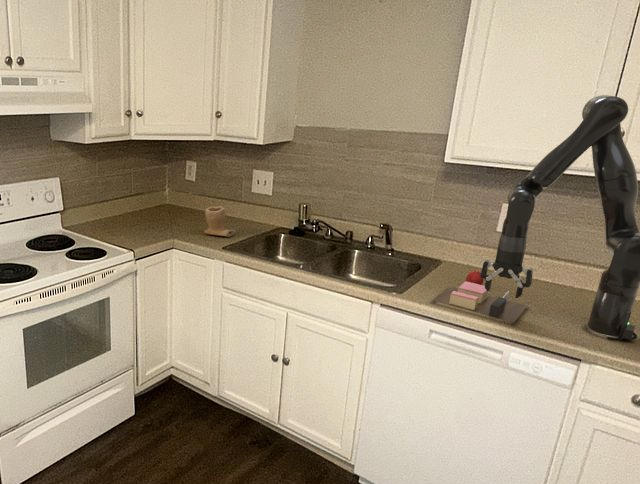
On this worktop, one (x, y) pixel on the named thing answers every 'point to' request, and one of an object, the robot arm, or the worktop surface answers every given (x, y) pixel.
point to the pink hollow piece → (217, 222)
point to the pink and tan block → (463, 300)
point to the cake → (474, 290)
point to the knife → (498, 306)
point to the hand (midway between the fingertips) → (502, 293)
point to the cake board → (486, 306)
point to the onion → (474, 277)
